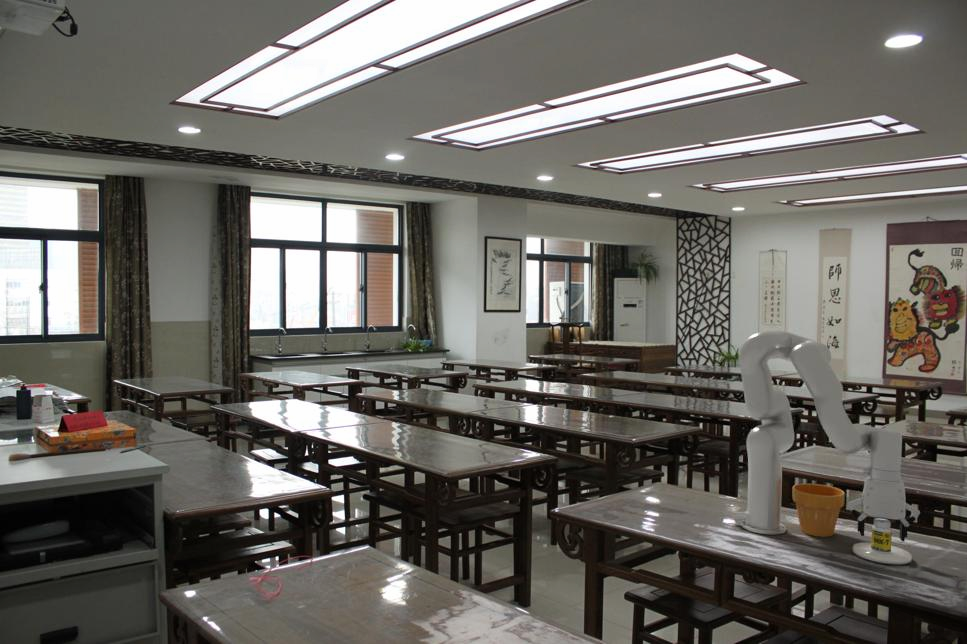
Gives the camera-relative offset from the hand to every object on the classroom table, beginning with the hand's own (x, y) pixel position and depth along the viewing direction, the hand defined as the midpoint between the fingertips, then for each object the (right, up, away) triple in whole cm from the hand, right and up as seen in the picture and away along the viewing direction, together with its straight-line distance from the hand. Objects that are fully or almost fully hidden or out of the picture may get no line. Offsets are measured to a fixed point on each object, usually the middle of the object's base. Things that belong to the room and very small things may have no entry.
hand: (881, 537), depth 196 cm
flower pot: (-8, -5, +20) cm, 22 cm away
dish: (0, -5, 0) cm, 5 cm away
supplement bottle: (0, -4, 0) cm, 4 cm away
